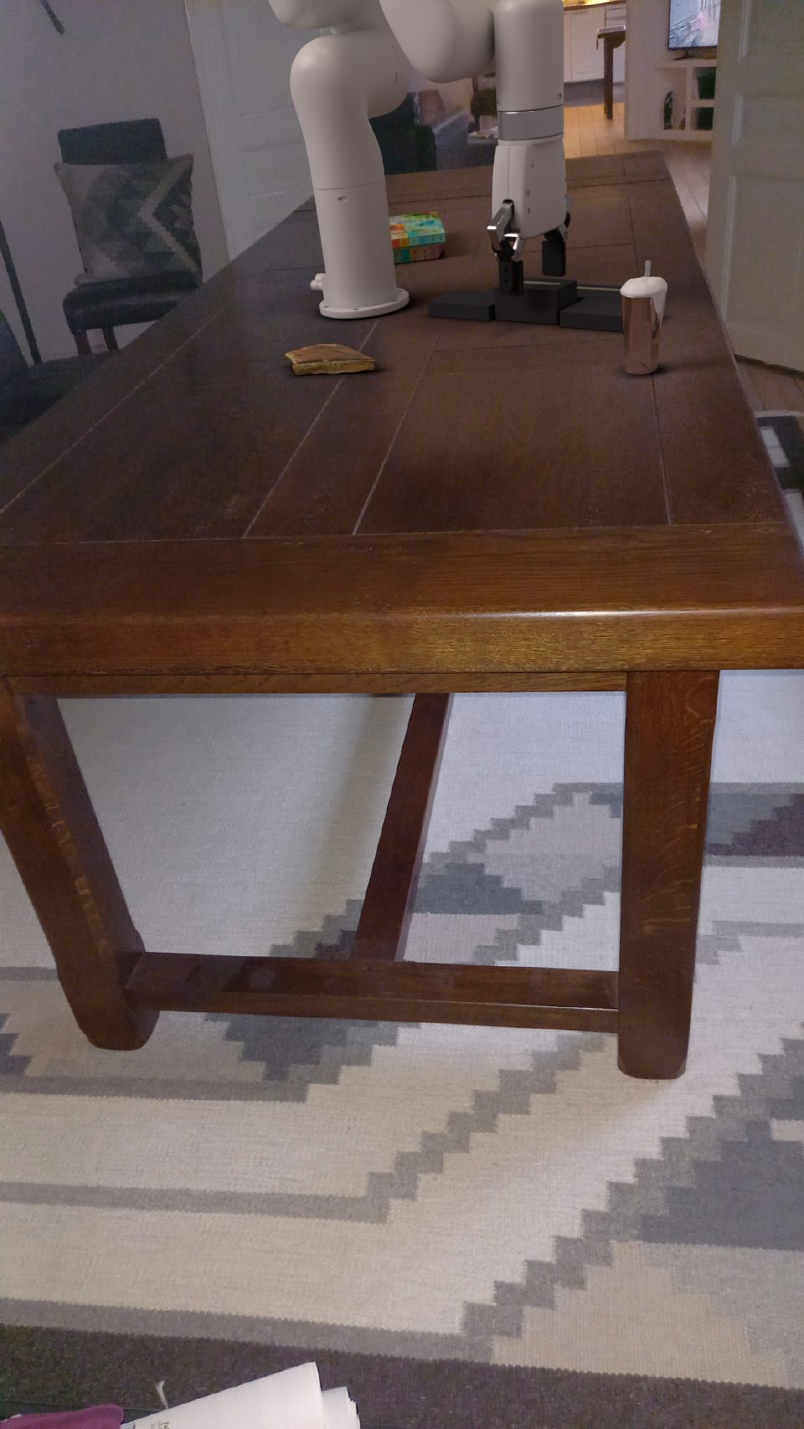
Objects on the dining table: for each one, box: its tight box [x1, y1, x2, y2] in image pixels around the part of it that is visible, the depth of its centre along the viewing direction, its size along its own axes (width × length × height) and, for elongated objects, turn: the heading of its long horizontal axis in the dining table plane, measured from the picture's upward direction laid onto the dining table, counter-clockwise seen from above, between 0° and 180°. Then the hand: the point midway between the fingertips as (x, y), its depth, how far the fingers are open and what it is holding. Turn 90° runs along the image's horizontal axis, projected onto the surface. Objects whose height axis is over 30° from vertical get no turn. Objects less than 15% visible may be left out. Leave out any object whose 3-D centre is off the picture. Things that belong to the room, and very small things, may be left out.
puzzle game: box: [389, 211, 447, 265], centre depth 165 cm, size 12×5×20 cm
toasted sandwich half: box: [285, 342, 377, 376], centre depth 115 cm, size 11×8×2 cm
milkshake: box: [620, 260, 668, 376], centre depth 100 cm, size 4×5×10 cm
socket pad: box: [427, 283, 623, 333], centre depth 125 cm, size 30×12×2 cm, turn 52°
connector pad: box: [493, 276, 578, 325], centre depth 123 cm, size 9×5×4 cm, turn 52°
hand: (533, 285), depth 122 cm, fingers open, 9 cm apart
